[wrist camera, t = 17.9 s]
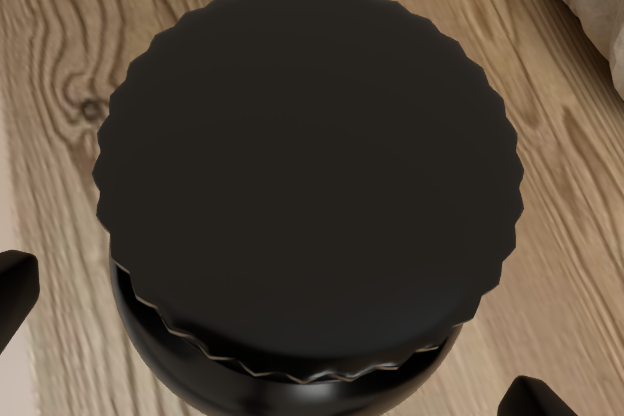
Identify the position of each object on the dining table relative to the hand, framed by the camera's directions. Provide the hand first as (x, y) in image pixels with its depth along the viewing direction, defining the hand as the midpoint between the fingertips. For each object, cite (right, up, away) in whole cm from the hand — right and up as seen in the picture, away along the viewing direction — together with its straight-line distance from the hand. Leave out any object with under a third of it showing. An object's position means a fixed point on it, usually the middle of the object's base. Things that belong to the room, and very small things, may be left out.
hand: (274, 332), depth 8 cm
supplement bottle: (0, -1, +8) cm, 8 cm away
